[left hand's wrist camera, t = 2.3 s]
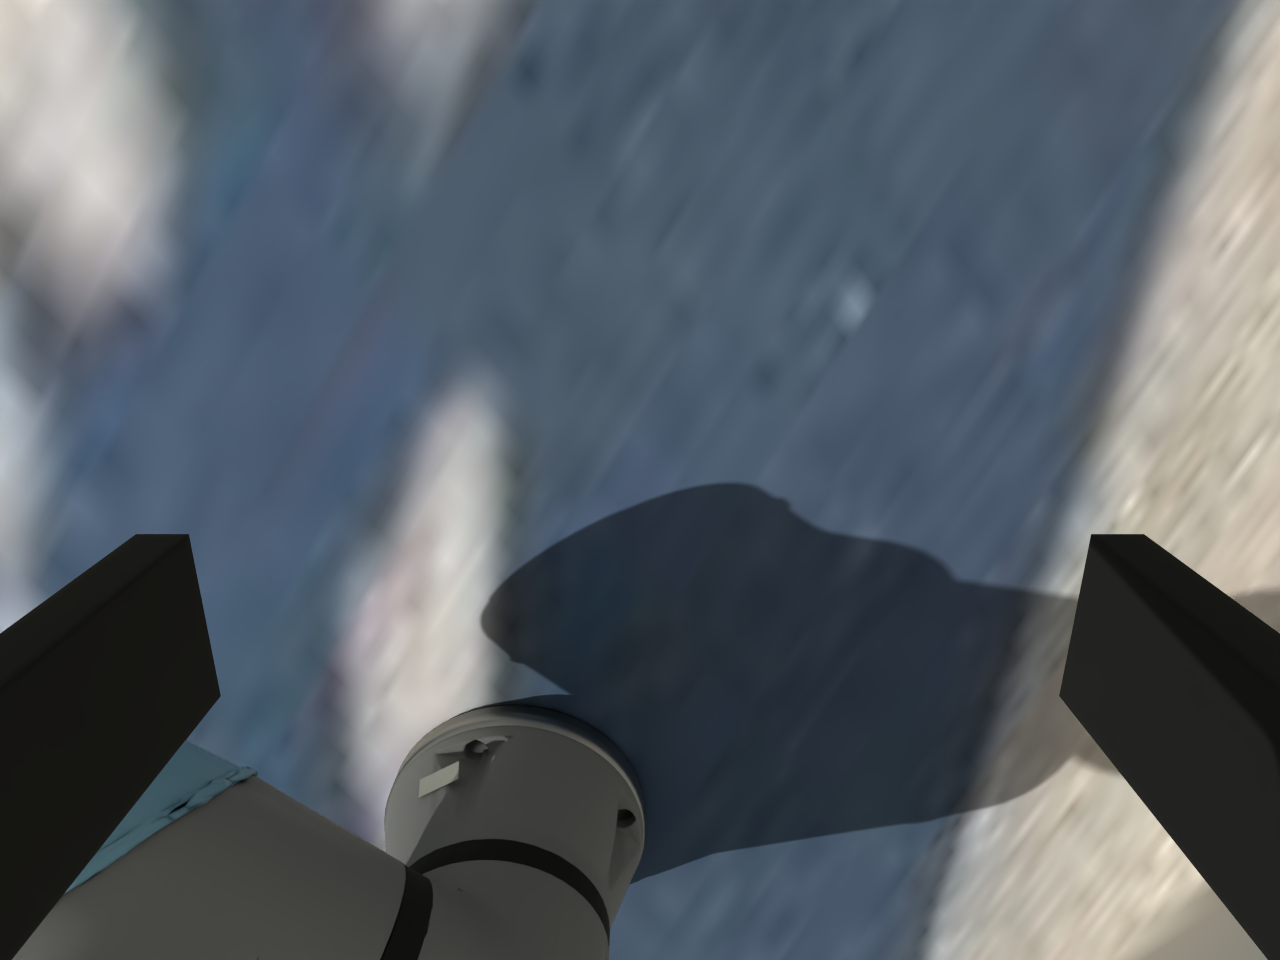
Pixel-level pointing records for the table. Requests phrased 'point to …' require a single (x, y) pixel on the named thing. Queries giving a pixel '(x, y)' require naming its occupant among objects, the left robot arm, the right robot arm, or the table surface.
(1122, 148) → the table surface
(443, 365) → the table surface
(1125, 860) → the table surface
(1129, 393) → the table surface
